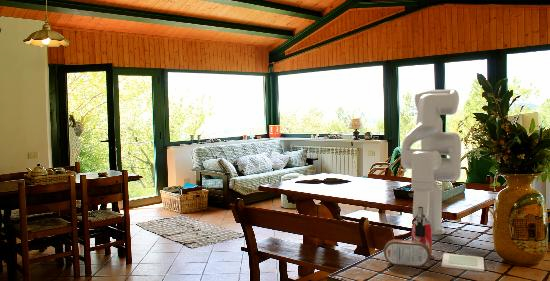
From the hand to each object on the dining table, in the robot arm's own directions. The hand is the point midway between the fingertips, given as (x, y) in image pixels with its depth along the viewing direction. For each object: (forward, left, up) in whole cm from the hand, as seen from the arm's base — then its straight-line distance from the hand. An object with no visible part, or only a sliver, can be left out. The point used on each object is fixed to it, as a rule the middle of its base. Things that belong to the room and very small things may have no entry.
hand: (421, 233), depth 171 cm
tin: (+13, -3, -8) cm, 16 cm away
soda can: (0, 0, -8) cm, 8 cm away
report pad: (+4, +14, -8) cm, 17 cm away
